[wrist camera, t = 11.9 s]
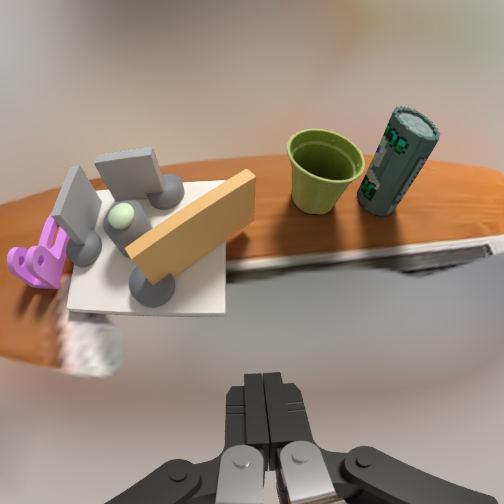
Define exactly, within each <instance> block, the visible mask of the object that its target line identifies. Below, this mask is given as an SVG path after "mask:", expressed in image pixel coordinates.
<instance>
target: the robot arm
mask: <svg viewBox="0 0 504 504" xmlns="http://www.w3.org/2000/svg"><path fill="white" fill-rule="evenodd" d="M225 423H226V424H225V447H224V450H223V451H222V453H221V454H220V455H219V456H218V457H217V458H215V459H213V460H211V461H207V462H203V463H199V464H192V463H191V462H189V461H187V460H182V459H175V460H170V461H168V462H166V463H164V464H163V465H161V466H160V467H159V468H157V469H156V470H155V471H153V472H152V473H150V474H149V475H148V476H146V477H145V478H143V479H142V480H140V481H139V482H138V483H136V484H134V485H133V486H131V487H130V488H129V489H127V490H126V491H124V492H122V493H121V494H119V495H118V496H116V497H114V498H113V499H111V500H110V501H108V502H106V503H105V504H263V488H264V478H265V471H268V463H269V471H274V470H275V471H276V479H277V482H276V489H277V493H278V497H279V502H280V504H498V502H497V500H496V499H495V498H494V497H492V496H490V495H486V494H483V493H479V492H476V491H473V490H470V489H467V488H464V487H461V486H458V485H456V484H453V483H450V482H448V481H445V480H443V479H440V478H438V477H435V476H432V475H430V474H428V473H425V472H423V471H421V470H419V469H416V468H414V467H412V466H410V465H408V464H405V463H403V462H401V461H399V460H397V459H395V458H393V457H391V456H389V455H387V454H385V453H383V452H381V451H379V450H377V449H375V448H373V447H369V446H360V447H356V448H354V449H352V450H351V451H350V452H349V453H339V452H330V451H326V450H324V449H322V448H320V447H319V446H318V445H317V444H316V443H315V442H314V440H313V437H312V433H311V430H310V426H309V422H308V418H307V414H306V411H305V406H304V403H303V398H302V395H301V391H300V390H299V389H298V388H297V386H296V385H295V384H294V383H288V384H283V383H282V378H281V373H280V372H274V373H263V376H262V374H261V373H259V374H244V386H232V387H231V388H230V390H229V392H228V393H227V395H226V421H225Z"/></svg>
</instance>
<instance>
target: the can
mask: <svg viewBox="0 0 504 504" xmlns="http://www.w3.org/2000/svg"><path fill="white" fill-rule="evenodd" d="M437 130H438V128H436V127H435V125H434V124H433V123H432V122H431V121H430V120H428V119H427V117H425V116H424V115H422V114H421V113H419V112H417V111H415V110H412V109H410V108H408V107H407V108H406V107H404V108H403V107H402V106H401V107H400V108H398V107H396V108H395V110H394V111H393V113H392V116H391V118H390V120H389V123H388V125H387V128H386V130H385V132H384V135H383V137H382V139H381V142H380V144H379V146H378V148H377V151H376V153H375V155H374V157H373V159H372V162H371V164H370V166H369V168H368V170H367V173H366V175H365V177H364V179H363V181H362V183H361V185H360V187H359V189H358V191H357V193H358V194H359V195H358V197H357V198H359V201H360V202H361V203H360V204H361V205H363V206H364V209H365V210H367V211H369V212H370V213H372V214H373V215H375V216H376V214H377V215H379V216H380V217H381V216H385V215H386V216H388V215H389V213H390V214H392V212H393V211H394V210H395V208H396V207H397V205H398V204H399V202H400V201H401V199H402V198H403V196H404V195H405V193H406V192H407V190H408V189H409V187H410V186H411V184H412V183H413V181H414V180H415V178H416V176H417V175H418V173H419V172H420V170H421V169H422V167H423V165H424V164H425V162H426V160H427V159H428V157H429V155H430V154H431V152H432V150H433V149H434V147H435V145H436V143H437V142H438V140H439V136H440V133H439V132H438V131H437Z"/></svg>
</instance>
